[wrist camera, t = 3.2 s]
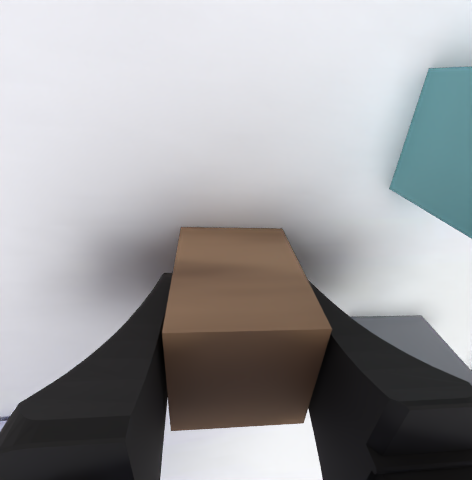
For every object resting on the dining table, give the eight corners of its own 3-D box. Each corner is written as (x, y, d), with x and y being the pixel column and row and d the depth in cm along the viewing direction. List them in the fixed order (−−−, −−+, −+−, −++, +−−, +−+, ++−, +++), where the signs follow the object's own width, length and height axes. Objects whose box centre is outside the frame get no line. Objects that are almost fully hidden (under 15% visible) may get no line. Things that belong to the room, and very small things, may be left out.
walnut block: (270, 304, 15) (303, 423, 10) (184, 305, 15) (171, 431, 9) (282, 228, 13) (332, 329, 8) (181, 227, 13) (162, 333, 7)
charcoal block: (395, 366, 19) (467, 477, 14) (329, 368, 18) (377, 484, 13) (421, 315, 17) (518, 423, 11) (346, 316, 16) (413, 430, 11)
